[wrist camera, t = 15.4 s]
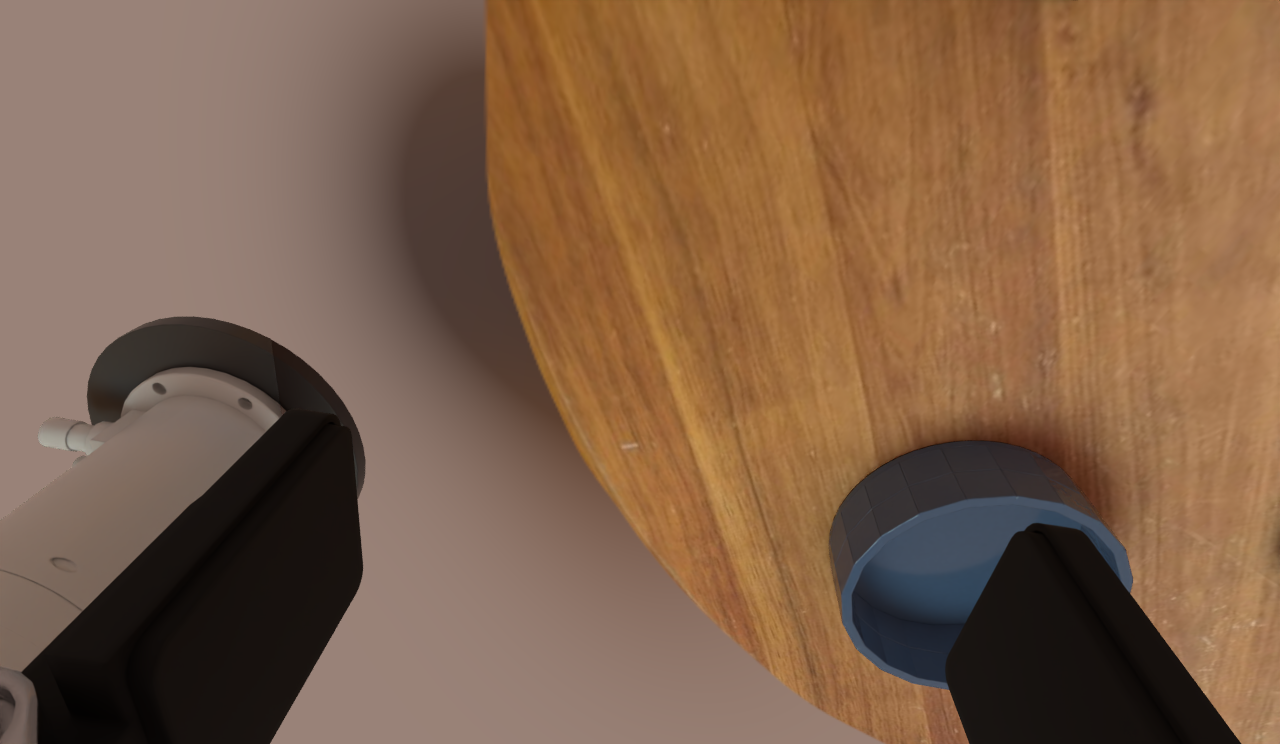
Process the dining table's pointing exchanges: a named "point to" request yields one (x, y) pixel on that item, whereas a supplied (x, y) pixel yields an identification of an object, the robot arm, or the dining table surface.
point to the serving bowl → (944, 545)
